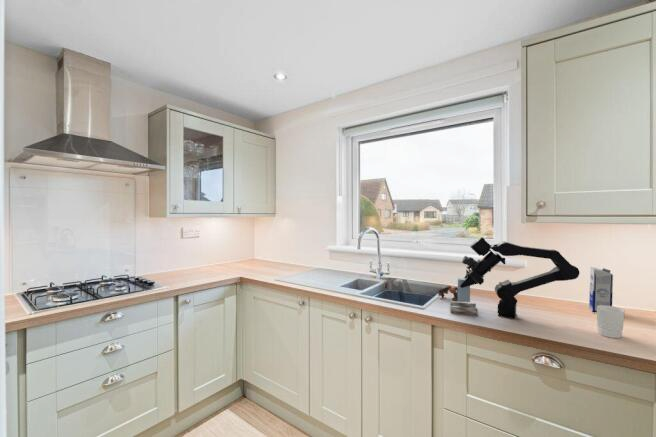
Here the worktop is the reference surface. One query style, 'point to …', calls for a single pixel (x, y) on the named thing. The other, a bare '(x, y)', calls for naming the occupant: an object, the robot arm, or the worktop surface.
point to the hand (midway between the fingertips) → (460, 286)
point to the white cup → (610, 321)
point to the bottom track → (463, 308)
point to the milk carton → (600, 288)
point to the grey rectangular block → (463, 291)
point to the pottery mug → (452, 290)
